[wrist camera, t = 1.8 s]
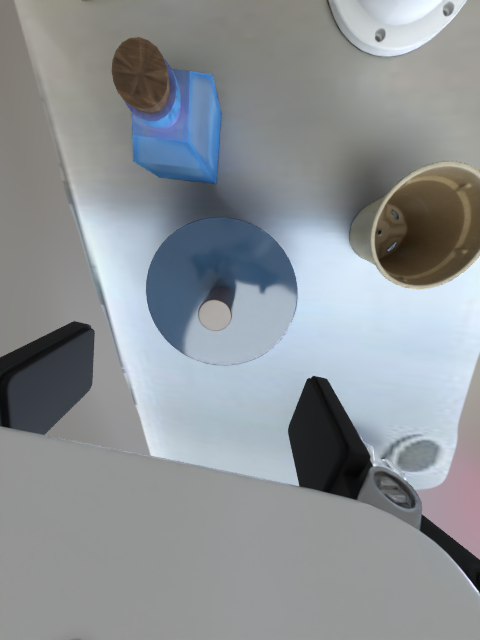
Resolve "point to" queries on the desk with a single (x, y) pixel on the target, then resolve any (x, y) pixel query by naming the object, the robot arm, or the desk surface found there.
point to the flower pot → (423, 226)
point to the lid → (221, 291)
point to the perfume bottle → (169, 113)
